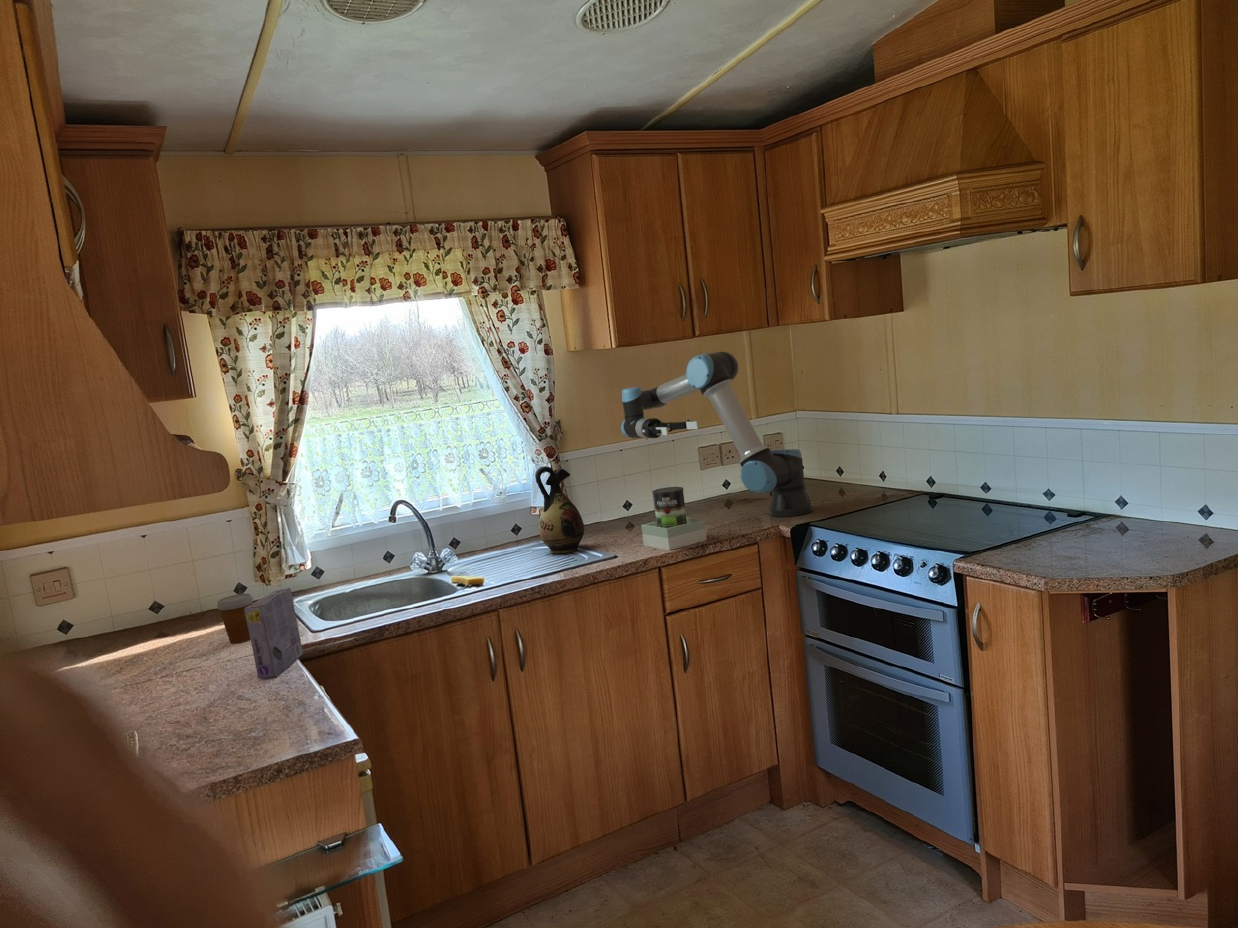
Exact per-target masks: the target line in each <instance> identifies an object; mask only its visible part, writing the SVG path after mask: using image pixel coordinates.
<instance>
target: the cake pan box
mask: <svg viewBox="0 0 1238 928" xmlns="http://www.w3.org/2000/svg"><path fill="white" fill-rule="evenodd" d="M244 611H245V616H246V621H247V626H248V630H249V635H250V640H249V641H250V643H251V644H250V645H251V649H252V654H253V659H254V663H255V664H254V665H255V669H256V673H257V679H260V680H262V679H273V678H277V677H278V676H279V675H281V673H283V672H284V671H285V670H286V669H288V668H290V666H292V665H293V664H294V662H296V661H297V660H298V659H299V658H300V657H302V656H303V655H304V651H303V645H302V641H301V636H300V630H299V624H298V620H297V616H296V611H295V605H294V599H293V594H292V590H291V588H290V587H287V588H283V589H279V590H273V591H272V592H271V593H269V594H267V595H265V596H263V597H261V598H260V599H258V600H257V601H255V602H253V603H252V604H251V605H250V606H248V607H246V608H244Z"/></svg>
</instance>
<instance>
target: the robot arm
mask: <svg viewBox="0 0 1238 928" xmlns="http://www.w3.org/2000/svg"><path fill="white" fill-rule="evenodd" d="M686 367H687V368H686V370H685V371H686V372H685V374H683V375H681V376H679V377H676V378H674V379H672V380H670V381H667V382H665V383H663V384H661V385H658V386H656V387H653V388H651V389H646V390H641V387H639V386H633V387H627V388H623V389H622V390H621V402H622V408H623V414H624V420H623V421H622V423H621V426H620V430H621V433H622V435H623V436H625V437H626V438H629V439H630V438H631V439H645V440H647V441H648V440H649V439H657V438H660V437H661V436H669V433H671V432H673V431H676V430H678V431H679V430H699V429H700V427H699V426H700V425H699V424H700V423H699V421H693V420H690V419H687V420H686V421H673V422H672V421H670V422H668V421H667V422H664V421H663V422H662V421H661V420H660V419H658V418H655V417H654V418H653V417H652V418H651V417H645V413H644V411H647V410H652V409H657V408H658V409H659V408H662V407H664V406H665V407H666V405H667V404H668V403H671V402H674V401H676V400H678V399H681V398H683V397H685V396H688V395H690V394H693V393H695V392H697V391H700V393H701V395H702V396H703V398H706V399H709V400H710V402H711V404H712V406H713V408H714V409H715V412H716V413H717V416H718V417H719V419H720V421H721V422H722V425H723V426H724V428H725V430H726V431H727V434H728V435H729V438H730V439H731V441H732V443H733V444H734V445H733V446H735V448H736V450H737V452H738V454H739V456H740V459H739V465H740V467H741V470H740V480H741V482H742V484H743V485H744V487H745V488H746V489H747V490H749V491H750V492H752V493H755V494H763V493H769V492H771V491H772V495H771V501H770V506H769V515H770V516H772V517H783V518H785V517H795V516H796V517H797V516H803V515H807V514H809V513H811V512H813V504H812V502H811V499H810V497H809V495H808V492H807V490H806V483H805V482H806V481H805V474H804V465H803V460H804V459H803V457H802V451H801V450H800V449H796V448H793V449H789V448H788V449H771V448H770V447H769V446H765V445H763V442H762V441H761V439H760V437H759V435H758V434H757V432H756V430H755V428H754V427H753V424H752V422H751V421H750V419H749V417H748V416H747V413H746V411H745V410H744V409H743V407H742V405H741V403H740V401H739V399H738V398H737V395H736V394H735V391H734V389H733V388H732V383H733V380H734V379H735V378H736V377H737V376H738V372H739V363H738V360H737V358H736V357H735V355H734V354H731V353H730V352H727V351H718V352H710V353H701V354H698V355H695V356H694V357H692V358H691V359H690V360H689V362H688V363H687V366H686Z"/></svg>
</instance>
